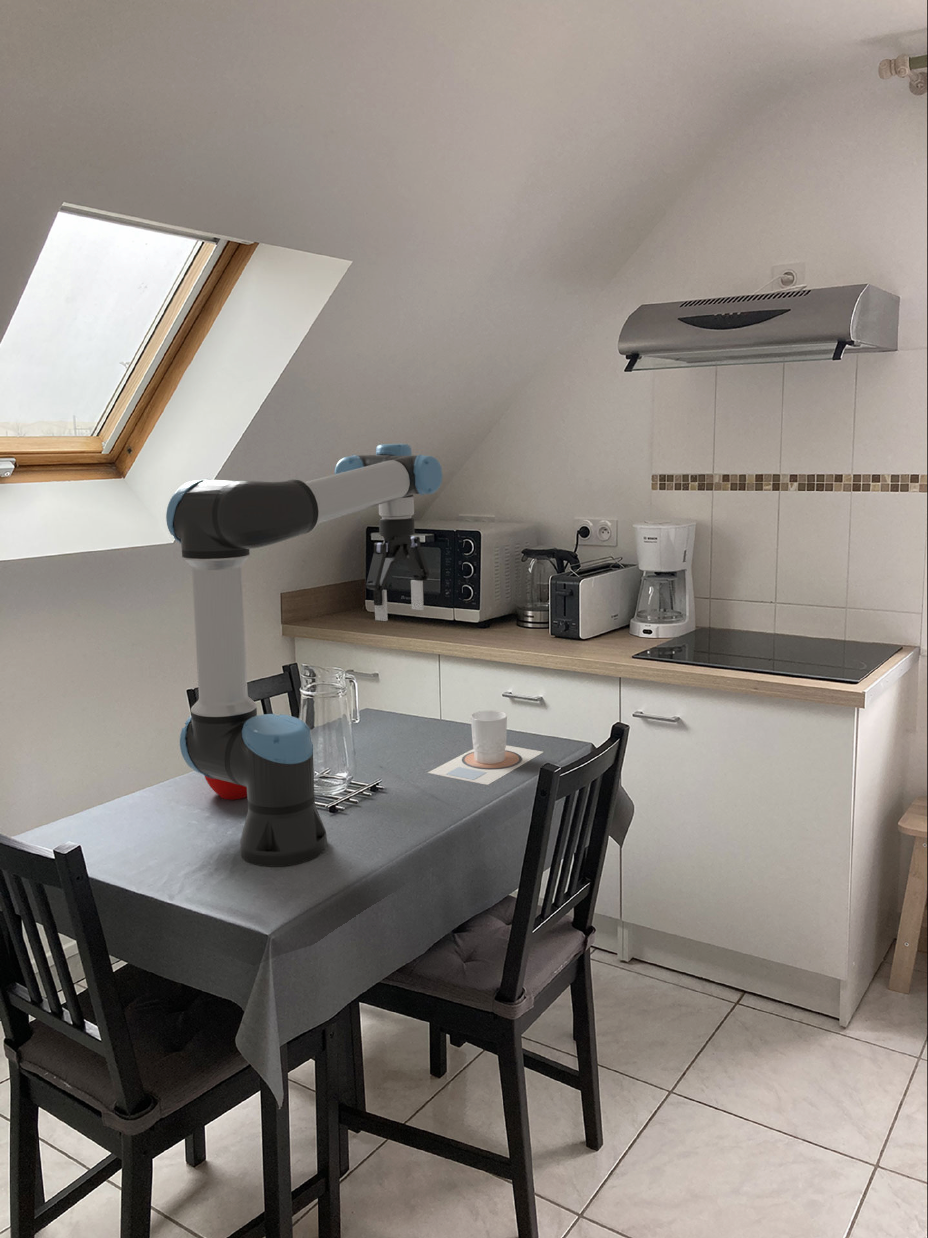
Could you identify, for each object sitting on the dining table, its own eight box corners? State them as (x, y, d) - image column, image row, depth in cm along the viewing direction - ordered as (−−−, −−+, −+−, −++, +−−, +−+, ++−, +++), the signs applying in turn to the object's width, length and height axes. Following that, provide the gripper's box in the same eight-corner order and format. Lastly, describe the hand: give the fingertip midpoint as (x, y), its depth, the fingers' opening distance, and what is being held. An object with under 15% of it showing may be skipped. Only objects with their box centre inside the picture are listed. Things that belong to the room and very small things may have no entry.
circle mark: (484, 773, 214) (483, 773, 214) (450, 757, 225) (450, 756, 225) (534, 761, 221) (534, 760, 221) (499, 746, 232) (499, 745, 232)
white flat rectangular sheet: (487, 788, 208) (487, 784, 207) (427, 776, 216) (427, 772, 216) (543, 755, 227) (543, 751, 227) (486, 745, 235) (486, 741, 235)
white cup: (508, 765, 219) (507, 720, 217) (471, 765, 219) (470, 720, 217) (507, 753, 226) (506, 710, 224) (472, 754, 227) (471, 710, 225)
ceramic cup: (296, 788, 210) (293, 742, 208) (223, 810, 199) (219, 761, 197) (263, 774, 220) (261, 729, 218) (191, 794, 209) (188, 747, 207)
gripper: (415, 511, 230) (418, 604, 234) (346, 522, 209) (350, 623, 213) (443, 512, 226) (445, 606, 230) (375, 523, 205) (379, 626, 209)
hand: (399, 614), depth 221 cm, fingers open, 13 cm apart
